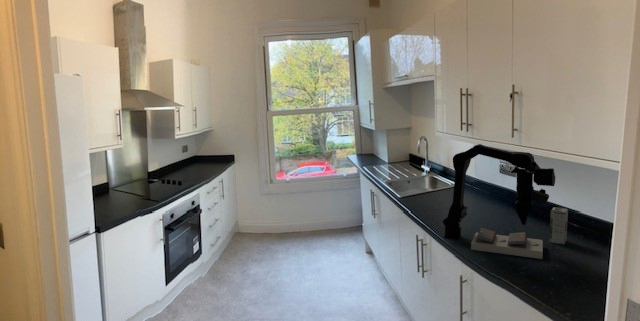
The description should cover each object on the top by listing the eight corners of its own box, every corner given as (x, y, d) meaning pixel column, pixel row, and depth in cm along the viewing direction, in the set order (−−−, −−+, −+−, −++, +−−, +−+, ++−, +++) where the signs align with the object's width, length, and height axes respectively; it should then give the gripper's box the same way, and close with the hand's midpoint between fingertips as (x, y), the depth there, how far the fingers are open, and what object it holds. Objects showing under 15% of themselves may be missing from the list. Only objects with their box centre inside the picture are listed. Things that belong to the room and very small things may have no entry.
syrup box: (551, 238, 166) (552, 206, 164) (567, 240, 163) (568, 208, 161) (549, 242, 162) (550, 209, 160) (565, 245, 158) (566, 211, 156)
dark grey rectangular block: (476, 237, 158) (477, 234, 158) (480, 229, 168) (481, 227, 167) (492, 242, 156) (492, 239, 155) (494, 234, 165) (495, 231, 165)
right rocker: (508, 244, 152) (507, 241, 152) (510, 235, 162) (509, 232, 162) (525, 243, 149) (524, 240, 149) (525, 234, 159) (525, 231, 159)
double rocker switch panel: (461, 248, 161) (461, 240, 160) (466, 237, 173) (466, 230, 172) (542, 259, 146) (542, 250, 145) (542, 246, 158) (542, 239, 157)
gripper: (548, 189, 139) (547, 230, 141) (547, 180, 155) (546, 217, 157) (514, 188, 145) (514, 227, 147) (517, 179, 161) (516, 214, 163)
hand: (524, 221), depth 153 cm, fingers open, 9 cm apart
